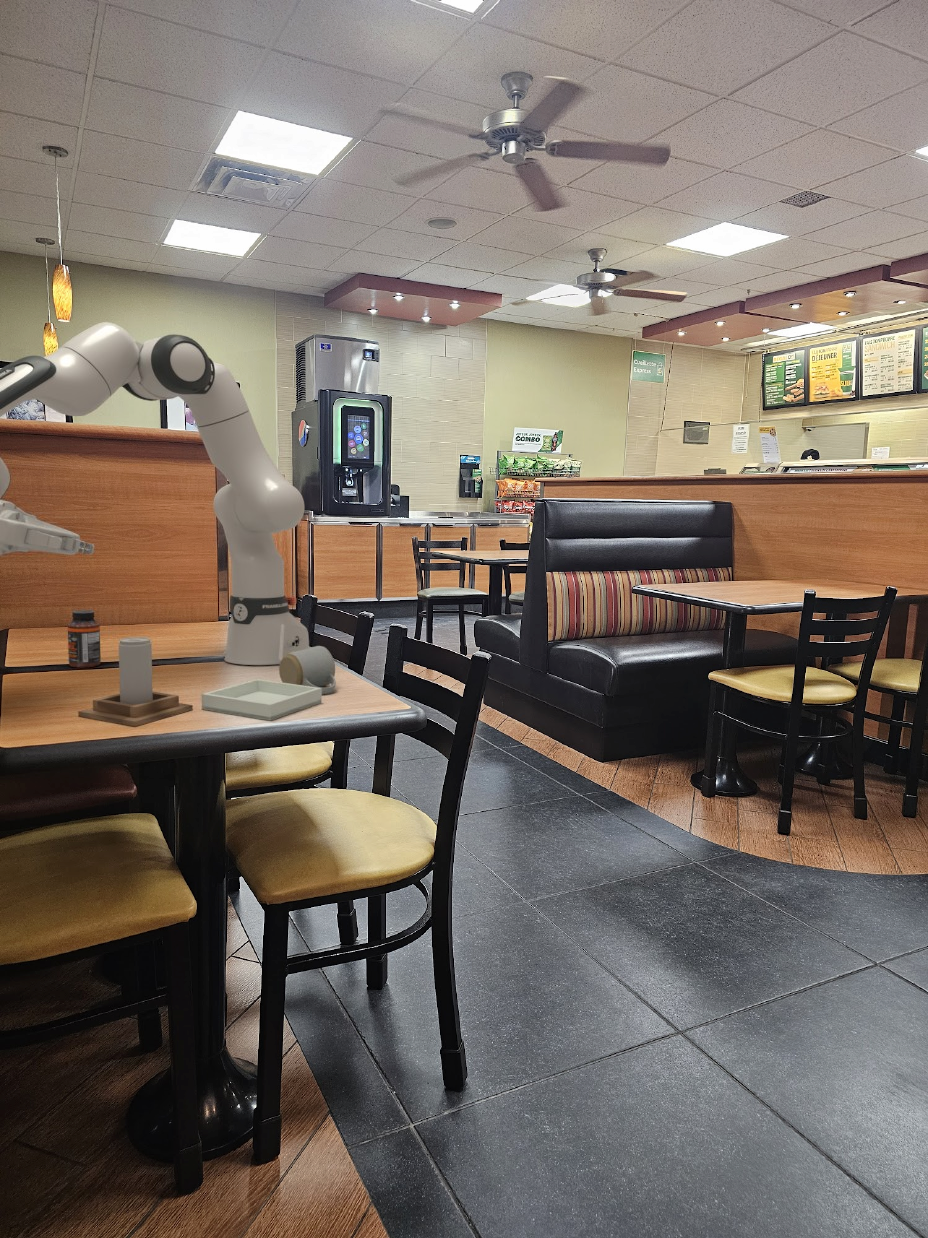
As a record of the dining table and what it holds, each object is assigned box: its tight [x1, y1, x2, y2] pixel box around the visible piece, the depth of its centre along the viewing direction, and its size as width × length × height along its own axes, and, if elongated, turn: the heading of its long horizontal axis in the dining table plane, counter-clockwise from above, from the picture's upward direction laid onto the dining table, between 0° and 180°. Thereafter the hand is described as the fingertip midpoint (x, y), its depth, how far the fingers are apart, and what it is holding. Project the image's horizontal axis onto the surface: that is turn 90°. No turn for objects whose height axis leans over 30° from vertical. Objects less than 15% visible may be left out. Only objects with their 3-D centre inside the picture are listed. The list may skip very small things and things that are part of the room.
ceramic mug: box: [278, 645, 337, 696], centre depth 146 cm, size 11×8×8 cm
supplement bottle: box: [67, 609, 102, 669], centre depth 161 cm, size 6×6×11 cm
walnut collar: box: [77, 691, 194, 728], centre depth 126 cm, size 12×12×2 cm
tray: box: [201, 678, 323, 722], centre depth 133 cm, size 14×14×3 cm
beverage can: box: [118, 636, 154, 705], centre depth 126 cm, size 5×5×12 cm
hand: (77, 547), depth 126 cm, fingers open, 8 cm apart
